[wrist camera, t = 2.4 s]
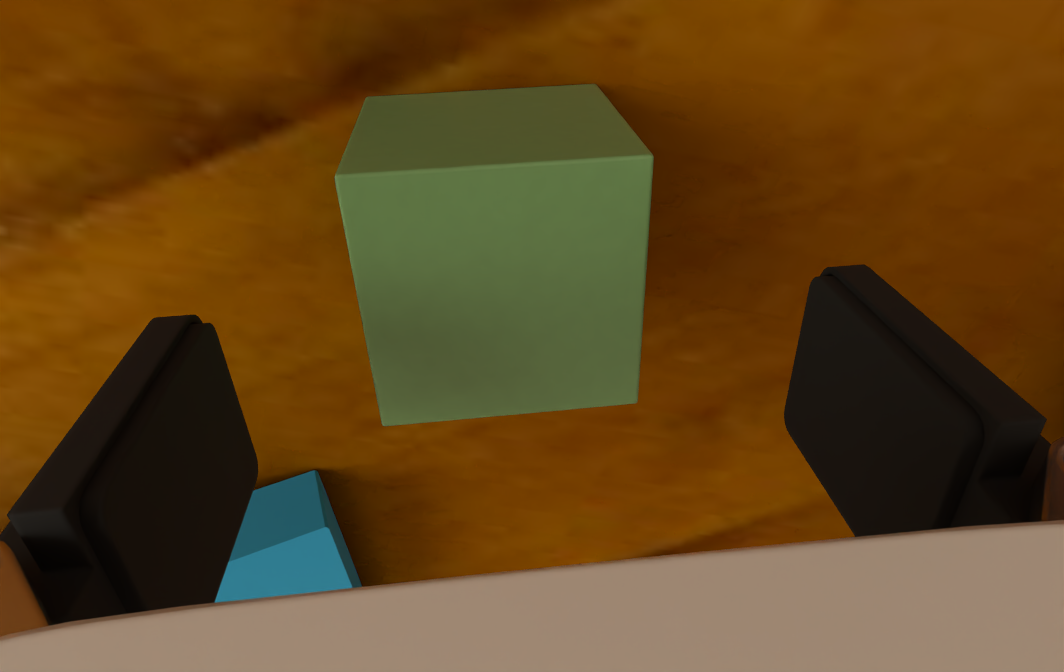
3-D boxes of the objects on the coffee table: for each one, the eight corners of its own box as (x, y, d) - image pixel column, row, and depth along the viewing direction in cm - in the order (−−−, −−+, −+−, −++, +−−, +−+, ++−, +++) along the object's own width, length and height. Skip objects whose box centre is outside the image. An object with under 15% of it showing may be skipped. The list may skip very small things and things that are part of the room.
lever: (300, 385, 24) (-354, 585, 19) (328, 526, 18) (-588, 857, 13) (351, 521, 27) (-186, 716, 23) (386, 673, 22) (-315, 972, 17)
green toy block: (365, 96, 15) (333, 175, 10) (596, 82, 15) (655, 154, 11) (397, 299, 17) (381, 427, 13) (592, 284, 18) (638, 404, 14)
